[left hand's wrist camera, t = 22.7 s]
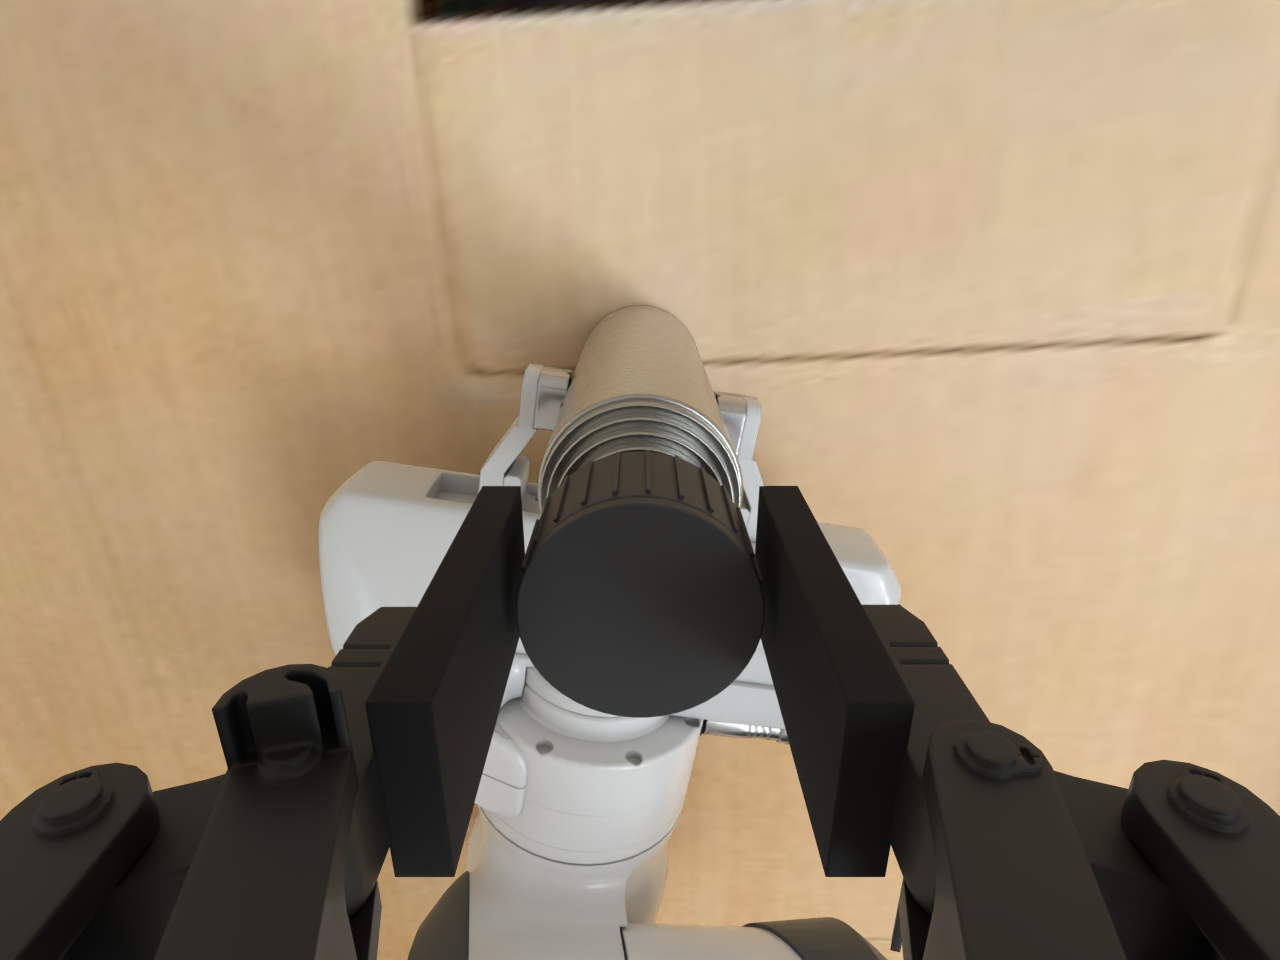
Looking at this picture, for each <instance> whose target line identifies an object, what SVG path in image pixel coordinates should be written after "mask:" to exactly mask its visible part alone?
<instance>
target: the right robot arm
mask: <svg viewBox="0 0 1280 960" xmlns="http://www.w3.org/2000/svg"><path fill="white" fill-rule="evenodd" d="M571 380H572V370H568V369H562V368H556V367H550V366H544V365H539V364H529V365H528V367H527V368H526V370H525V373H524V378H523V383H522V390H521V401H520V411H519V416H518V417H517V419H516V420H515V421H514V422H513V424H512V425H511V426H510V428H509V429H508V430H507V432H506V433H505V434H504V436H503V437H502V438H501V439H500V441H499V442H498V443H497V445H496V446H495V447H494V449H493V450H492V452H491V453H490V455H489V457H488V458H487V460H486V462H485V464H484V465H483V467H482V469H481V470H480V475H478V474H471V473H464V472H457V471H450V470H443V469H436V468H429V467H422V466H414V465H407V464H400V463H394V462H387V461H373V462H370V463H368V464H366V465H365V466H364V467H362V468H361V469H360V470H359V471H357V472H356V473H355V474H353V475H352V476H351V477H350V478H349V479H347V480H346V481H345V482H344V483H343V484H342V485H341V486H340V487H339V488H338V489H337V490H336V491H335V492H334V494H333V495H332V496H331V497H330V498H329V500H328V501H327V502H326V504H325V506H324V508H323V510H322V512H321V515H320V520H319V536H318V542H319V564H320V577H321V588H322V596H323V603H324V610H325V617H326V623H327V628H328V634H329V639H330V642H331V646H332V649H333V652H334V654H335V657H336V655H337V654H338V652H339V651H340V649H343V644H344V643H345V641H346V640H347V638H348V637H349V635H350V634H351V632H352V631H353V629H354V628H355V626H356V625H357V624H358V623H360V622H361V621H362V620H364V619H365V618H366V617H368V616H369V615H371V614H372V613H373V612H375V611H376V610H377V609H379V608H380V607H417V606H418V604H419V603H420V601H421V599H422V597H423V595H424V593H425V591H426V590H427V588H428V586H429V584H430V582H431V580H432V579H433V577H434V575H435V573H436V571H437V569H438V567H439V566H440V564H441V562H442V560H443V558H444V556H445V555H446V553H447V551H448V549H449V547H450V545H451V543H452V542H453V540H454V538H455V536H456V534H457V532H458V531H459V529H460V527H461V525H462V523H463V521H464V519H465V518H466V516H467V514H468V512H469V510H470V508H471V507H472V505H473V503H474V501H475V499H476V497H477V495H478V494H479V492H480V490H481V488H482V486H521V500H522V515H523V530H524V545H525V553H526V550H527V547H528V544H529V541H530V538H531V535H532V532H533V528H534V525H535V522H536V519H539V520H540V517H541V512H540V508H539V502H538V495H537V484H538V483H535V482H528V474H529V462H530V459H529V458H528V456H524V455H519V453H520V452H521V451H522V449H523V448H524V447H525V446H526V444H527V443H528V442H529V440H530V439H531V438H532V436H533V435H534V434H535V432H536V431H537V430H538V429H543V430H552V431H553V429H554V426H555V423H556V421H557V418H558V415H559V413H560V410H561V407H562V405H563V402H564V399H565V396H566V394H567V391H568V388H569V386H570V383H571ZM714 396H715V398H716V401H717V404H718V406H719V409H720V412H721V414H722V417H723V420H724V422H725V425H726V428H727V430H728V433H729V436H730V438H731V441H732V444H733V447H734V449H735V452H736V455H737V458H738V461H739V464H740V467H741V472H742V478H743V498H742V506H741V513H742V516H743V519H744V522H745V525H746V529H747V532H748V535H749V538H750V541H751V544H752V547H753V550H754V554H755V545H756V530H757V515H758V500H759V486H764V484H763V481H762V478H761V475H760V473H759V470H758V467H757V464H756V461H755V459H754V456H753V452H754V448H755V443H756V439H757V434H758V430H759V425H760V421H761V404H760V403H759V401H758V399H757V397H751V396H744V395H738V394H731V393H723V392H716V391H715V392H714ZM817 523H818V525H819V527H820V529H821V531H822V532H823V534H824V536H825V538H826V540H827V542H828V543H829V545H830V547H831V549H832V551H833V553H834V555H835V556H836V558H837V560H838V562H839V564H840V566H841V567H842V569H843V571H844V573H845V575H846V577H847V579H848V580H849V582H850V584H851V586H852V588H853V590H854V592H855V593H856V595H857V597H858V599H859V601H860V603H861V604H862V605H899V602H900V597H901V587H900V583H899V580H898V578H897V575H896V573H895V571H894V569H893V567H892V566H891V564H890V562H889V560H888V559H887V557H886V555H885V554H884V553H883V551H882V550H881V549H880V547H879V546H878V545H877V543H876V542H875V541H874V539H873V538H872V537H871V536H870V535H869V534H868V533H867V532H866V531H864V530H862V529H859V528H855V527H848V526H841V525H834V524H827V523H820V522H817ZM701 734H708V735H716V736H724V737H732V738H761V739H769V740H776V742H779V743H783V744H789V740H788V736H787V733H786V729H785V725H784V722H783V718H782V714H781V711H780V707H779V703H778V700H777V696H776V692H775V689H774V685H773V681H772V678H771V674H770V670H769V667H768V663H767V659H766V656H765V652H764V648H763V645H762V641H761V638H760V641H759V644H758V646H757V649H756V651H755V653H754V655H753V657H752V658H751V660H750V662H749V664H748V665H747V666H746V668H745V669H744V670H743V672H742V673H741V674H740V675H739V676H738V677H737V678H736V679H735V680H734V681H733V682H732V683H731V684H730V685H729V686H728V687H727V688H726V689H724V690H723V691H722V692H720V693H719V694H718V695H716V696H714V697H713V698H711V699H710V700H708V701H706V702H704V703H702V704H700V705H698V706H696V707H693V708H691V709H688V710H685V711H682V712H679V713H675V714H670V715H665V716H658V717H649V718H632V717H622V716H615V715H611V714H606V713H602V712H599V711H596V710H593V709H590V708H587V707H585V706H583V705H581V704H579V703H576V702H575V701H573V700H571V699H570V698H568V697H566V696H565V695H563V694H562V693H560V692H559V691H558V690H557V689H555V688H554V687H553V686H551V685H550V684H549V683H548V682H547V681H546V680H545V679H544V678H543V677H542V676H541V674H540V673H539V672H538V670H537V669H536V668H535V667H534V665H533V664H532V662H531V660H530V659H529V657H528V655H527V653H526V652H525V649H524V647H523V644H522V642H521V639H520V637H519V641H518V645H517V648H516V652H515V656H514V659H513V663H512V667H511V670H510V674H509V678H508V681H507V685H506V689H505V692H504V696H503V700H502V703H501V707H500V711H499V714H498V718H497V722H496V725H495V729H494V733H493V736H492V740H491V744H490V747H489V751H488V755H487V758H486V762H485V766H484V769H483V773H482V777H481V780H480V784H479V788H478V792H477V795H476V799H475V804H477V806H478V810H479V815H478V817H477V819H476V821H475V823H474V826H473V829H472V832H471V835H470V838H469V842H468V847H467V856H466V867H465V873H463V874H462V875H461V876H460V877H459V878H458V879H457V880H456V881H455V882H454V883H453V884H452V885H451V886H450V887H449V888H448V889H447V891H446V892H445V893H444V894H443V896H442V897H441V898H440V900H439V901H438V902H437V904H436V905H435V906H434V908H433V909H432V910H431V912H430V913H429V914H428V916H427V917H426V918H425V920H424V921H423V922H422V924H421V925H420V927H419V929H418V931H417V933H416V936H415V939H414V941H413V944H412V947H411V950H410V953H409V956H408V960H887V959H886V958H885V957H884V956H883V955H882V954H881V953H880V952H879V951H878V950H877V949H876V948H875V947H874V946H873V945H872V944H870V943H869V942H868V941H867V940H866V939H865V938H863V937H862V936H861V935H860V934H859V933H857V932H856V931H855V930H854V929H853V928H852V927H850V926H849V925H848V924H846V923H844V922H843V921H841V920H838V919H835V918H831V917H824V918H811V919H798V920H785V921H772V922H759V923H749V924H746V925H744V926H742V927H732V926H699V925H667V924H655V922H656V919H657V915H658V912H659V908H660V904H661V900H662V896H663V892H664V888H665V884H666V878H667V870H668V849H667V843H666V842H667V841H668V839H669V838H670V836H671V835H672V833H673V831H674V830H675V828H676V826H677V823H678V821H679V819H680V816H681V813H682V809H683V806H684V802H685V797H686V793H687V788H688V784H689V780H690V775H691V771H692V767H693V762H694V758H695V754H696V750H697V745H698V741H699V736H701Z"/></svg>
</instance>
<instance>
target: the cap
mask: <svg viewBox="0 0 1280 960" xmlns="http://www.w3.org/2000/svg"><path fill="white" fill-rule="evenodd" d="M520 571H523V575H522V578H521V581H520V585H519V588H518V591H517V595H516V598H517V601H516V619H517V627H518V631H519V635H520V639H521V642H522V644H523V647H524V649H525V652H526V653H527V655H528V657H529V659H530V660H531V662H532V664H533V665H534V667H535V668H536V669H537V670H538V672H539V673H540V674H541V676H542V677H543V678H544V679H545V680H546V681H547V682H548V683H549V684H550V685H551V686H553V687H554V688H555V689H557V690H558V691H559V692H560V693H562V694H563V695H565V696H566V697H568V698H570V699H571V700H573V701H575V702H576V703H579V704H581V705H583V706H585V707H587V708H590V709H593V710H596V711H599V712H602V713H606V714H611V715H615V716H622V717H632V718H649V717H658V716H665V715H670V714H675V713H679V712H682V711H685V710H688V709H691V708H693V707H696V706H698V705H700V704H702V703H704V702H706V701H708V700H710V699H711V698H713V697H714V696H716V695H718V694H719V693H720V692H722V691H723V690H724V689H726V688H727V687H728V686H729V685H730V684H731V683H732V682H733V681H734V680H735V679H736V678H737V677H738V676H739V675H740V674H741V673H742V672H743V670H744V669H745V668H746V666H747V665H748V664H749V662H750V660H751V658H752V657H753V655H754V653H755V651H756V649H757V646H758V644H759V641H760V638H761V635H762V630H763V626H764V617H765V603H764V594H763V590H762V586H761V584H763V579H762V576H761V573H760V569H759V566H758V563H757V560H756V557H755V554H754V550H753V547H752V544H751V541H750V538H749V535H748V532H747V529H746V525H745V522H744V519H743V516H742V513H741V510H740V508H739V506H738V507H736V506H735V504H734V503H733V501H732V499H731V497H730V496H729V495H728V493H727V490H726V487H725V486H724V485H722V486H721V485H720V484H719V483H718V482H717V481H716V480H715V479H714V478H713V477H712V476H710V475H709V474H708V473H706V472H705V469H704V468H703V467H701V468H699V467H697V466H695V465H693V464H692V463H690V462H688V461H685V460H682V459H680V458H679V456H677V455H675V456H670V455H666V454H663V453H655V452H650V450H645V452H626V453H620V452H616V454H614V455H610V456H606V457H603V458H601V459H598V460H596V461H593V462H592V460H591V461H589V462H588V464H587V465H585V466H584V467H582V468H580V469H579V470H577V471H576V472H574V473H573V474H572V475H570V476H568V475H567V476H566V477H565V478H564V481H563V483H562V484H561V485H560V486H559V487H558V488H557V489H556V490H555V492H554V493H553V494H552V496H551V497H550V496H548V497H547V498H546V502H545V505H544V508H543V511H542V515H541V517H540V520H539V519H536V522H535V525H534V528H533V532H532V535H531V538H530V541H529V544H528V547H527V550H526V553H525V557H524V560H523V563H522V566H521V569H520Z"/></svg>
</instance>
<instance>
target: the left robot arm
mask: <svg viewBox="0 0 1280 960" xmlns="http://www.w3.org/2000/svg"><path fill="white" fill-rule="evenodd" d="M524 557H525V545H524V530H523V515H522V500H521V486H482V488H481V490H480V492H479V494H478V495H477V497H476V499H475V501H474V503H473V505H472V507H471V508H470V510H469V512H468V514H467V516H466V518H465V519H464V521H463V523H462V525H461V527H460V529H459V531H458V532H457V534H456V536H455V538H454V540H453V542H452V543H451V545H450V547H449V549H448V551H447V553H446V555H445V556H444V558H443V560H442V562H441V564H440V566H439V567H438V569H437V571H436V573H435V575H434V577H433V579H432V580H431V582H430V584H429V586H428V588H427V590H426V591H425V593H424V595H423V597H422V599H421V601H420V603H419V604H418V606H417V607H380V608H379V609H377V610H376V611H375V612H373V613H372V614H371V615H369V616H368V617H366V618H365V619H364V620H362V621H361V622H360V623H358V624H357V625H356V626H355V628H354V629H353V631H352V632H351V634H350V635H349V637H348V638H347V640H346V641H345V643H344V644H343V649H340V651H339V652H338V654H337V655H336V657H335V658H334V660H333V661H332V666H331V667H328V668H325V667H321V666H317V665H313V664H294V665H286V666H282V667H277V668H273V669H269V670H265V671H263V672H260V673H258V674H256V675H254V676H251V677H249V678H247V679H245V680H242V681H241V682H240V683H238V684H237V685H235V686H234V687H233V688H231V689H230V690H228V691H227V692H226V693H224V694H223V695H222V697H221V698H220V699H219V701H218V702H217V703H216V704H215V706H214V707H213V708H212V712H213V715H214V719H215V723H216V726H217V730H218V734H219V737H220V741H221V745H222V748H223V752H224V756H225V759H226V763H227V767H228V769H227V772H226V774H224V775H220V776H217V777H214V778H210V779H207V780H203V781H198V782H194V783H190V784H185V785H181V786H177V787H172V788H168V789H163V790H159V791H155V792H152V789H151V786H150V783H149V780H148V777H147V775H146V774H145V773H144V772H143V771H141V770H140V769H139V768H138V767H137V766H133V765H127V764H121V763H112V764H104V765H97V766H91V767H88V768H85V769H82V770H79V771H75V772H73V773H70V774H67V775H64V776H62V777H60V778H58V779H56V780H55V781H53V782H51V783H49V784H47V785H45V786H43V787H41V788H40V789H38V790H36V791H35V792H33V793H32V794H31V795H30V796H28V797H27V798H26V799H24V800H23V801H22V802H21V803H19V804H18V805H17V806H16V807H14V808H13V809H12V810H11V811H10V812H9V813H8V814H7V815H6V816H5V817H4V818H3V819H2V820H1V821H0V960H377V949H378V939H379V929H380V918H381V908H382V907H381V900H380V893H379V887H378V882H377V878H378V875H379V873H380V870H381V868H382V865H383V862H384V860H385V857H386V855H387V852H388V849H389V847H390V851H391V856H392V862H393V868H394V873H395V877H454V876H455V872H456V869H457V865H458V861H459V858H460V854H461V850H462V847H463V843H464V839H465V836H466V832H467V828H468V825H469V821H470V817H471V814H472V810H473V806H474V803H475V799H476V795H477V792H478V788H479V784H480V780H481V777H482V773H483V769H484V766H485V762H486V758H487V755H488V751H489V747H490V744H491V740H492V736H493V733H494V729H495V725H496V722H497V718H498V714H499V711H500V707H501V703H502V700H503V696H504V692H505V689H506V685H507V681H508V678H509V674H510V670H511V667H512V663H513V659H514V656H515V652H516V648H517V645H518V641H519V637H520V635H519V631H518V627H517V619H516V601H517V598H516V595H517V591H518V588H519V585H520V581H521V578H522V575H523V571H520V569H521V566H522V563H523V560H524ZM755 557H756V560H757V563H758V566H759V569H760V573H761V576H762V579H763V584H761V586H762V590H763V594H764V603H765V617H764V626H763V630H762V635H761V641H762V645H763V648H764V652H765V656H766V659H767V663H768V667H769V670H770V674H771V678H772V681H773V685H774V689H775V692H776V696H777V700H778V703H779V707H780V711H781V714H782V718H783V722H784V725H785V729H786V733H787V736H788V740H789V744H790V748H791V751H792V755H793V759H794V762H795V766H796V770H797V773H798V777H799V781H800V784H801V788H802V792H803V795H804V799H805V803H806V806H807V810H808V814H809V817H810V821H811V825H812V828H813V832H814V836H815V839H816V843H817V847H818V850H819V854H820V858H821V861H822V865H823V869H824V872H825V876H826V877H885V873H886V868H887V862H888V856H889V851H890V845H891V846H892V848H893V851H894V854H895V856H896V859H897V861H898V864H899V867H900V869H901V872H902V874H903V882H902V887H901V893H900V898H899V903H898V909H897V914H896V919H895V925H894V930H893V936H892V943H891V950H892V951H897V952H900V949H901V944H902V947H903V958H904V960H1280V816H1279V815H1278V814H1277V813H1276V812H1275V811H1274V810H1273V809H1272V808H1271V807H1270V806H1268V805H1267V804H1266V803H1265V802H1263V801H1262V800H1261V799H1260V798H1258V797H1257V796H1256V795H1254V794H1253V793H1252V792H1251V791H1249V790H1248V789H1247V788H1245V787H1244V786H1242V785H1240V784H1238V783H1236V782H1234V781H1232V780H1230V779H1229V778H1227V777H1225V776H1223V775H1221V774H1219V773H1217V772H1214V771H1211V770H1208V769H1206V768H1202V767H1199V766H1196V765H1193V764H1190V763H1185V762H1177V761H1169V760H1160V761H1154V762H1148V763H1144V764H1143V765H1142V766H1141V767H1140V768H1138V769H1137V770H1136V771H1135V772H1134V774H1133V777H1132V780H1131V783H1130V786H1129V789H1126V788H1121V787H1117V786H1112V785H1108V784H1104V783H1099V782H1095V781H1090V780H1086V779H1082V778H1077V777H1073V776H1070V775H1067V774H1063V773H1060V772H1056V771H1053V768H1052V766H1051V765H1050V763H1049V762H1048V760H1047V759H1046V757H1045V756H1044V754H1043V753H1042V751H1041V750H1039V749H1038V748H1037V747H1036V746H1035V745H1033V744H1032V743H1031V742H1030V741H1028V740H1027V739H1026V738H1025V737H1023V736H1021V735H1019V734H1017V733H1015V732H1013V731H1011V730H1009V729H1007V728H1005V727H1003V726H1001V725H997V724H994V723H990V721H989V720H988V718H987V717H986V715H985V714H984V712H983V711H982V709H981V708H980V706H979V705H978V703H977V702H976V700H975V699H974V697H973V696H972V694H971V693H970V691H969V690H968V688H967V687H966V685H965V684H964V682H963V681H962V679H961V678H960V676H959V675H958V673H957V672H956V670H955V669H954V667H953V666H952V664H949V660H948V658H947V657H946V655H945V654H944V652H943V651H942V649H941V648H940V647H938V646H937V641H936V640H935V638H934V637H933V635H932V634H931V632H930V631H929V629H928V628H927V626H926V625H925V623H924V622H923V621H921V620H920V619H918V618H917V617H916V616H914V615H913V614H912V613H910V612H909V611H907V610H906V609H905V608H903V607H902V606H900V605H862V604H861V603H860V601H859V599H858V597H857V595H856V593H855V592H854V590H853V588H852V586H851V584H850V582H849V580H848V579H847V577H846V575H845V573H844V571H843V569H842V567H841V566H840V564H839V562H838V560H837V558H836V556H835V555H834V553H833V551H832V549H831V547H830V545H829V543H828V542H827V540H826V538H825V536H824V534H823V532H822V531H821V529H820V527H819V525H818V523H817V521H816V519H815V518H814V516H813V514H812V512H811V510H810V508H809V507H808V505H807V503H806V501H805V499H804V497H803V495H802V494H801V492H800V490H799V488H798V486H759V500H758V515H757V530H756V545H755Z"/></svg>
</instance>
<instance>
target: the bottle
mask: <svg viewBox="0 0 1280 960" xmlns="http://www.w3.org/2000/svg"><path fill="white" fill-rule="evenodd" d="M645 450H650V452H655V453H663V454H666V455H670V456H675V455H677V456H679V458H680V459H682V460H685V461H688V462H690V463H692V464H693V465H695V466H697V467H699V468H701V467H703V468H704V469H705V472H706V473H708V474H709V475H710V476H712V477H713V478H714V479H715V480H716V481H717V482H718V483H719V484H720V485H721V486H722V485H724V486H725V487H726V490H727V493H728V495H729V496H730V497H731V499H732V501H733V503H734V504H735V506H736V507H738V506H739V508H740V510H741V506H742V498H743V478H742V472H741V467H740V464H739V461H738V458H737V455H736V452H735V449H734V447H733V444H732V441H731V438H730V436H729V433H728V430H727V428H726V425H725V422H724V420H723V417H722V414H721V412H720V409H719V406H718V404H717V401H716V398H715V396H714V393H713V390H712V387H711V385H710V382H709V379H708V377H707V374H706V371H705V369H704V366H703V363H702V361H701V358H700V355H699V353H698V350H697V347H696V345H695V342H694V340H693V338H692V336H691V334H690V333H689V331H688V329H687V328H686V327H685V326H684V325H683V324H682V323H681V322H680V321H679V320H678V319H677V318H676V317H674V316H673V315H671V314H670V313H668V312H666V311H664V310H661V309H658V308H655V307H650V306H630V307H625V308H622V309H619V310H616V311H614V312H612V313H610V314H609V315H607V316H606V317H605V318H603V319H602V320H601V321H600V322H599V323H598V324H597V325H596V326H595V327H594V328H593V330H592V331H591V333H590V334H589V336H588V338H587V340H586V342H585V345H584V348H583V350H582V353H581V356H580V359H579V361H578V364H577V367H576V369H575V372H574V375H573V377H572V380H571V383H570V386H569V388H568V391H567V394H566V396H565V399H564V402H563V405H562V407H561V410H560V413H559V415H558V418H557V421H556V423H555V426H554V429H553V432H552V434H551V437H550V440H549V442H548V445H547V448H546V451H545V453H544V456H543V459H542V462H541V466H540V469H539V475H538V484H537V495H538V502H539V508H540V512H541V515H542V511H543V508H544V505H545V502H546V498H547V497H548V496H550V497H551V496H552V494H553V493H554V492H555V490H556V489H557V488H558V487H559V486H560V485H561V484H562V483H563V481H564V478H565V477H566V476H567V475H568V476H570V475H572V474H573V473H574V472H576V471H577V470H579V469H580V468H582V467H584V466H585V465H587V464H588V462H589V461H591V460H592V462H593V461H596V460H598V459H601V458H603V457H606V456H610V455H614V454H616V452H620V453H626V452H645Z"/></svg>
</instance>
